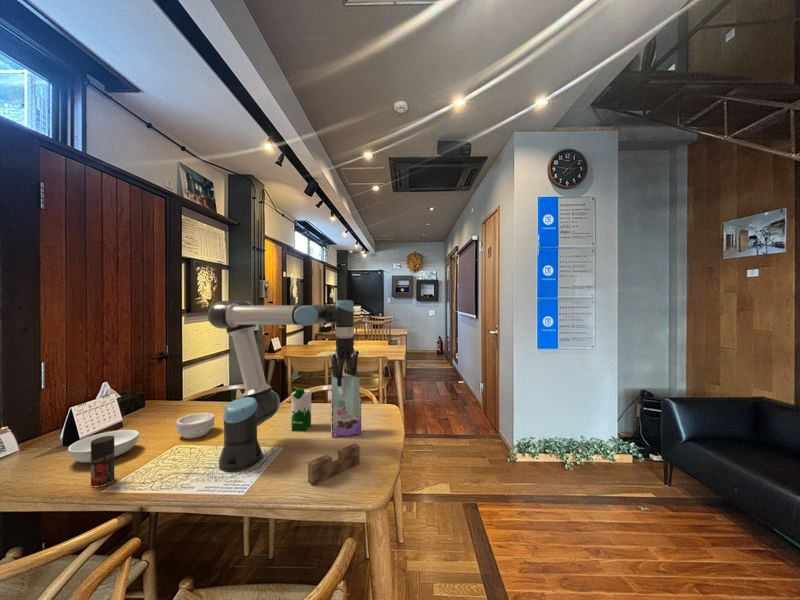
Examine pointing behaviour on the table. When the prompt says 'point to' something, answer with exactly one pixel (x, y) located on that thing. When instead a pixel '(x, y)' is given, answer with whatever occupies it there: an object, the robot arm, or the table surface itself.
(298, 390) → the milk carton
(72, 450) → the serving bowl
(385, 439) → the table surface
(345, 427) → the candy box
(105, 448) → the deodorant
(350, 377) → the pale green slab
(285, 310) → the robot arm
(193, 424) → the paper bowls
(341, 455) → the walnut board
